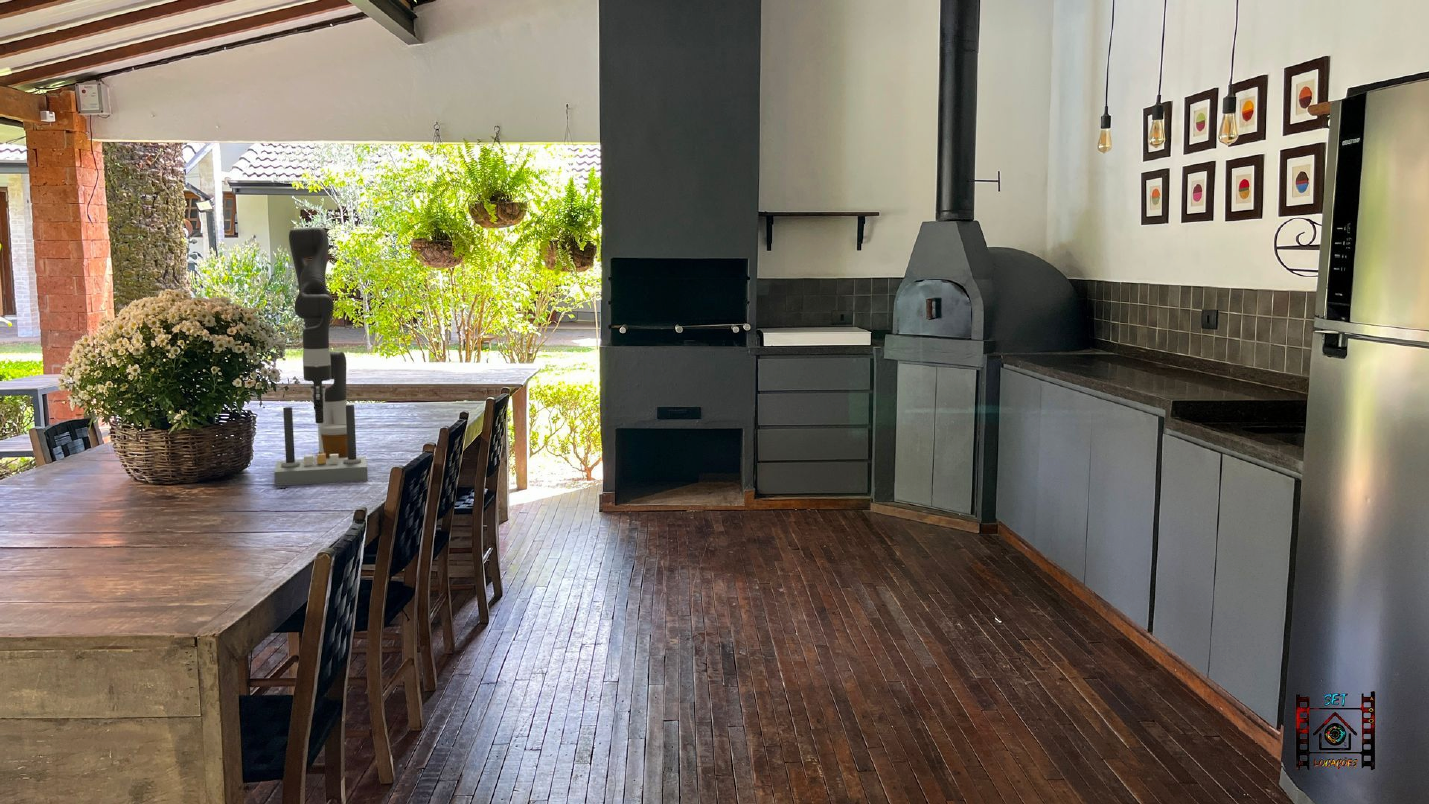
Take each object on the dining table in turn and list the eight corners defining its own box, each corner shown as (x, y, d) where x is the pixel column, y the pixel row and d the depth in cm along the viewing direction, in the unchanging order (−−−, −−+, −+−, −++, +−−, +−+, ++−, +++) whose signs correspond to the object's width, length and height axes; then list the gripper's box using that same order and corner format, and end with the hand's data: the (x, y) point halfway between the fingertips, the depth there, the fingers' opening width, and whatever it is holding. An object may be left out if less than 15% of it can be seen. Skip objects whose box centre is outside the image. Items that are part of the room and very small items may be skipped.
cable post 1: (281, 464, 314) (278, 406, 312) (300, 463, 316) (297, 406, 313) (280, 467, 310) (277, 409, 307) (299, 466, 311) (296, 408, 309)
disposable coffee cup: (346, 467, 330) (345, 428, 329) (315, 466, 331) (314, 428, 329) (357, 461, 340) (355, 423, 338) (327, 460, 340) (325, 423, 338)
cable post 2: (343, 461, 320) (340, 404, 317) (361, 460, 321) (358, 403, 319) (343, 464, 315) (340, 406, 313) (361, 463, 317) (359, 406, 314)
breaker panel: (277, 474, 320) (276, 452, 319) (366, 469, 328) (365, 447, 327) (274, 485, 305) (273, 463, 304) (367, 480, 313) (366, 458, 312)
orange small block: (317, 462, 316) (316, 453, 316) (326, 462, 317) (325, 453, 316) (317, 463, 314) (316, 455, 314) (325, 463, 315) (325, 454, 315)
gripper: (303, 361, 316) (306, 420, 319) (302, 366, 304) (305, 427, 306) (330, 361, 319) (333, 418, 321) (330, 365, 306) (333, 425, 309)
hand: (319, 422), depth 314 cm, fingers closed
